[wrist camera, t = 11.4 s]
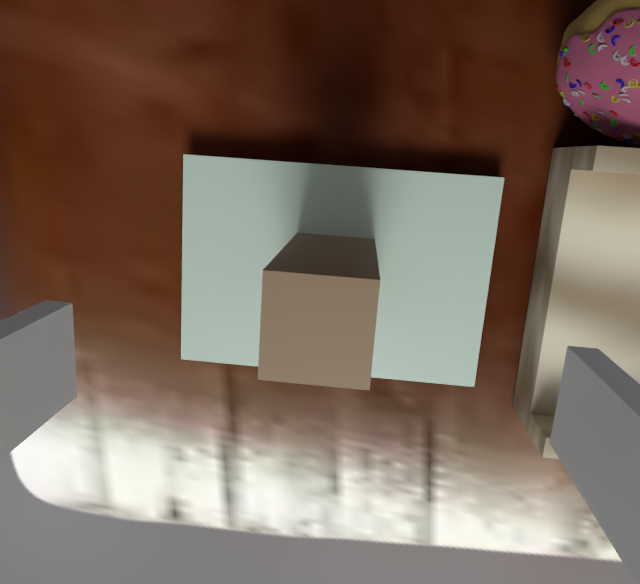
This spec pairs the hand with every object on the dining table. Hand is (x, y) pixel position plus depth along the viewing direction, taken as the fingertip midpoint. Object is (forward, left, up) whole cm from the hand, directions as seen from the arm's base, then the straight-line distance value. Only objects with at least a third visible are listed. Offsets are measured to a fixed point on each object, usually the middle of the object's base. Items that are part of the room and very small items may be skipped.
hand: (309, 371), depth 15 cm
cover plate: (0, 0, -16) cm, 16 cm away
